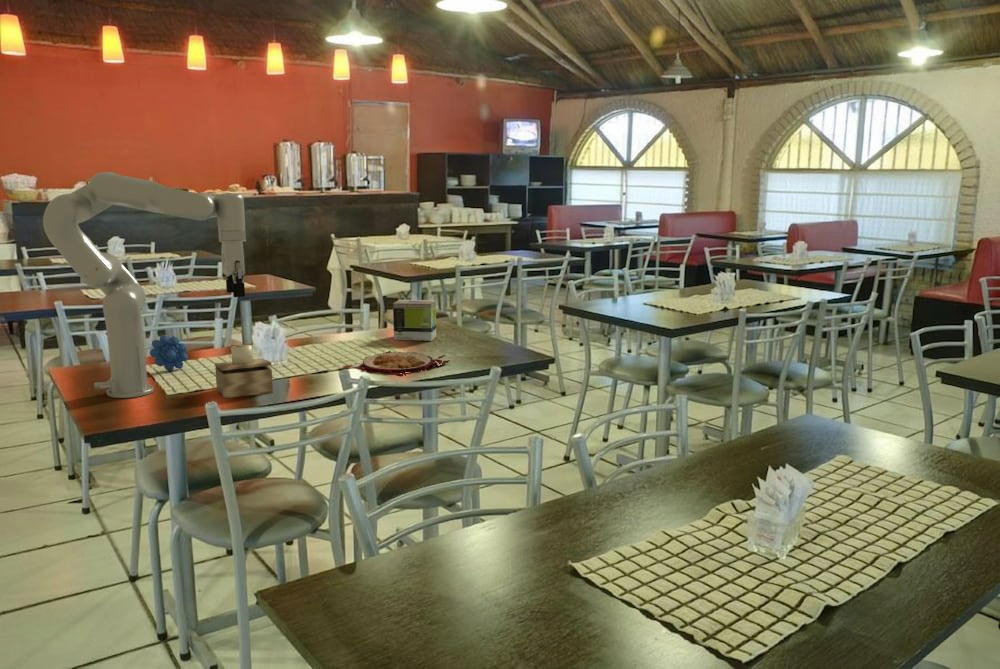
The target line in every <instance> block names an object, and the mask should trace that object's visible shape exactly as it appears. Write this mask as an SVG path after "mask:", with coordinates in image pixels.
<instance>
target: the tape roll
mask: <svg viewBox="0 0 1000 669" xmlns="http://www.w3.org/2000/svg"><path fill="white" fill-rule="evenodd" d="M253 350H254V349H253V345H252V344H238V345H233V346H230V352H231V362H232V364H235V365H240V364H250V363H253V362H254V361H253V359H254V351H253Z"/></svg>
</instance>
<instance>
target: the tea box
mask: <svg viewBox="0 0 1000 669" xmlns="http://www.w3.org/2000/svg"><path fill="white" fill-rule="evenodd" d="M436 302H437V301H436V300H435V299H398V300H396V301H395V302H393V303H392V316H393V317H392V318H393V319H392V320H393V321H392V322H393V339H394V341H422V340H423V341H426V342H427V341H428V342H431V341H433V340H434V339H435V338H436V336H437V303H436Z"/></svg>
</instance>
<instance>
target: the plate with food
mask: <svg viewBox="0 0 1000 669" xmlns="http://www.w3.org/2000/svg"><path fill="white" fill-rule="evenodd" d="M444 357H446V354H442V355H441V356H438V357H437V358H435V359H433V357H431V356H430V355H426V354H424V353H423V354H422V353H418V352H410V351H407V352H406V351H404V352H403V351H397V352H395V351H393V352H392V351H391V350H388V351H386V352H383V353H377V354H374V355H370V356H369V355H368V356H365V357H364V359H363V360H362V362H363V363H362V364H361V365H359V366H355V365H353V364H350V365H347V364H346V365H342V367H343V368H344V369H347V370H350V369H351V368H354V369H356V370H360V371H362V372H364V371H365V372H366V373H370V374H374V373H375V374H376V373H378V372H380V374H385V373H386V374H388V373H402V374H397V375H398V376H399V375H400V376H402V375H403V374H404V375H405V376H406V374H408V373H405V372H411V373H412V371H416V372H419V371H421V370H424V371H425V369H426V370H427V369H429V370H428V371H430V369H431V368H435V367H436V368H437V367H438V365H437V364H436V362H435V361H437V362H438V363H439V364H441V363H442V361H443V363H442V366H443V365H445V364H448V363H450V359H448V360H442V359H443V358H444ZM355 364H357V365H358V363H357V362H356V363H355ZM431 365H432V366H431ZM354 366H355V367H354ZM438 368H439V367H438ZM418 370H419V371H418ZM365 372H364V373H365ZM375 374H374V375H375Z"/></svg>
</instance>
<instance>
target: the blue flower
mask: <svg viewBox="0 0 1000 669" xmlns="http://www.w3.org/2000/svg"><path fill="white" fill-rule="evenodd" d="M151 346H152V347H153V348H151V349H150V351H149V354H150V356H151V357H152V358H154V364H155V365H156V366H157V367H164V369H165V370H167V371H169V372H170V371H172V370H174V368H175V369H178V370H179V369H182V368H183V367H184V363H185V362H186V361H188V360H189V356H188V354H187V353H186V352H187V349H188V347H187V345H186V344H185V343H182V342H181V343H180V339H179V338H178V337H177V336H175V335H174V336H171V337H169V336H168V335H167V334H162V335H160V336H159V340H158V339H153V340H152V341H151Z"/></svg>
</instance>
